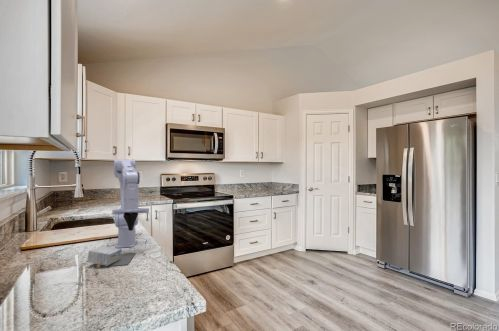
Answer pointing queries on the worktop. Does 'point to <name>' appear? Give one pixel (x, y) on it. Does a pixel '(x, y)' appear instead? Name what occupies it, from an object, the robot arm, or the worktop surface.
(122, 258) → the rubber mat
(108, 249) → the medicine box
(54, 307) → the worktop surface
